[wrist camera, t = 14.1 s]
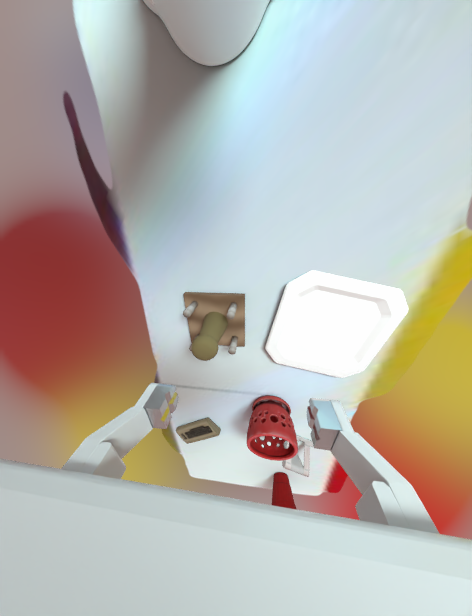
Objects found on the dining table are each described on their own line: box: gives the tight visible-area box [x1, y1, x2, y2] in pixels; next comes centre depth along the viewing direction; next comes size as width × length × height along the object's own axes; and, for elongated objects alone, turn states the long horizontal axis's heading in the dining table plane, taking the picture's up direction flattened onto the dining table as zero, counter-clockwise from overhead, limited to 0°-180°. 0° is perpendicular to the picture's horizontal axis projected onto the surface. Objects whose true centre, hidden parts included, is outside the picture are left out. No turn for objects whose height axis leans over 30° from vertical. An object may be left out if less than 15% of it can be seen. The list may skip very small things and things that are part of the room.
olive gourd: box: [191, 312, 228, 361], centre depth 37 cm, size 6×6×11 cm
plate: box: [265, 270, 408, 378], centre depth 39 cm, size 25×25×2 cm
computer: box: [176, 418, 221, 444], centre depth 65 cm, size 16×8×3 cm, turn 124°
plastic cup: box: [272, 472, 296, 509], centre depth 69 cm, size 11×11×12 cm
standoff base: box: [183, 292, 245, 354], centre depth 40 cm, size 14×14×6 cm
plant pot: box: [247, 396, 298, 460], centre depth 49 cm, size 13×13×12 cm
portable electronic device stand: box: [282, 435, 313, 477], centre depth 58 cm, size 9×8×8 cm
